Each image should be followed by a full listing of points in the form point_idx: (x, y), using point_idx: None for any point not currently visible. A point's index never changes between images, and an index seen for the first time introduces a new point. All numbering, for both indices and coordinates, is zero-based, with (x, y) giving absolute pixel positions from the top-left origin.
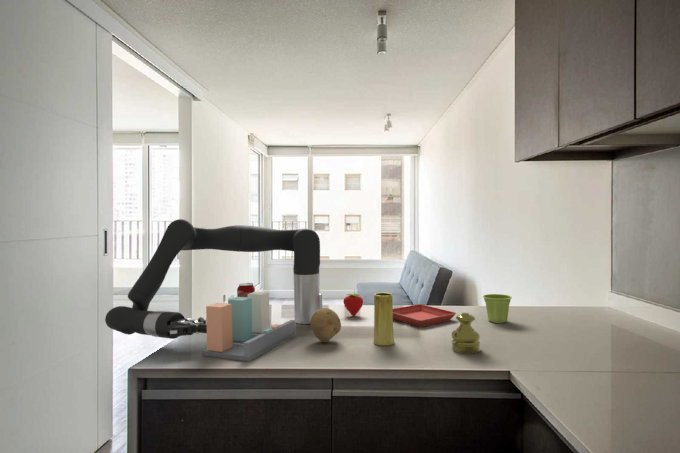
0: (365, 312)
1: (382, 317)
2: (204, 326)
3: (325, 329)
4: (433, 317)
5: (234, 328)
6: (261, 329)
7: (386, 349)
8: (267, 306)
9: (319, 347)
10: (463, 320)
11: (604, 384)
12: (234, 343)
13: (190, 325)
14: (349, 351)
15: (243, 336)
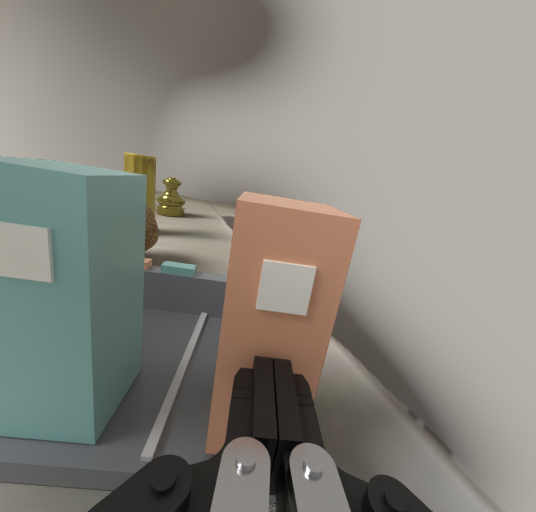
0: None
1: (154, 191)
2: (292, 398)
3: (157, 228)
4: None
5: (117, 350)
6: None
7: (171, 233)
8: None
9: (160, 265)
10: (180, 184)
11: (232, 209)
12: (179, 383)
13: (399, 491)
14: (182, 248)
15: (140, 348)
